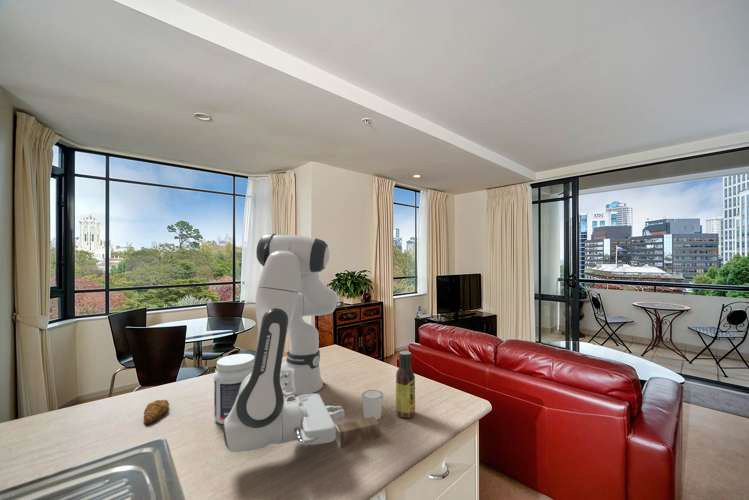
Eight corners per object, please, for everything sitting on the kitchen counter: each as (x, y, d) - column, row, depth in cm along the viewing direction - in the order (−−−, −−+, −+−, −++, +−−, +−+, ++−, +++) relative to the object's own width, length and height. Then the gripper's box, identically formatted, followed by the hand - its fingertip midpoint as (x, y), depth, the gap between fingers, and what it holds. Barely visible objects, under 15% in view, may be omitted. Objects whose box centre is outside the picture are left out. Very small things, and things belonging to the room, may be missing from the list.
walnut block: (339, 432, 83) (379, 423, 88) (335, 425, 87) (374, 416, 92) (339, 447, 83) (379, 437, 88) (335, 439, 87) (374, 429, 92)
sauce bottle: (414, 420, 97) (414, 356, 97) (394, 418, 98) (394, 355, 98) (415, 409, 103) (415, 350, 103) (397, 408, 104) (397, 349, 105)
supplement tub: (265, 410, 103) (265, 355, 103) (233, 431, 91) (233, 368, 92) (238, 403, 108) (238, 350, 109) (204, 421, 97) (204, 362, 97)
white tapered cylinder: (385, 412, 102) (385, 391, 102) (379, 423, 95) (379, 400, 95) (366, 408, 104) (366, 388, 104) (358, 419, 98) (358, 397, 98)
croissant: (153, 407, 106) (153, 392, 107) (175, 404, 108) (175, 390, 108) (134, 428, 93) (134, 411, 94) (160, 424, 95) (160, 408, 95)
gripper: (298, 430, 71) (355, 417, 76) (287, 393, 90) (333, 385, 95) (298, 457, 71) (355, 443, 76) (287, 415, 90) (333, 405, 95)
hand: (343, 410), depth 86 cm, fingers closed
